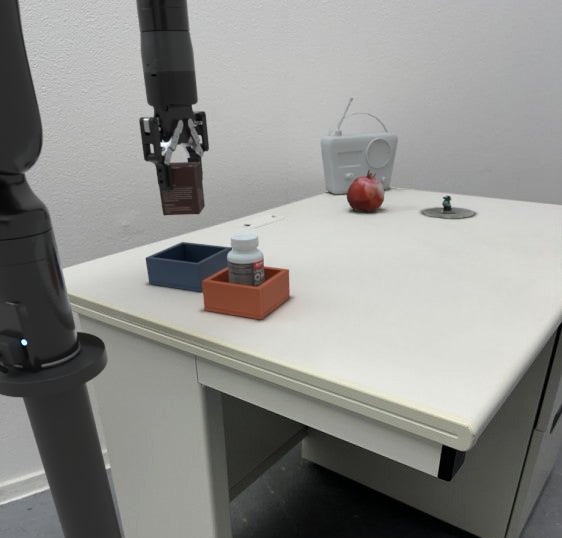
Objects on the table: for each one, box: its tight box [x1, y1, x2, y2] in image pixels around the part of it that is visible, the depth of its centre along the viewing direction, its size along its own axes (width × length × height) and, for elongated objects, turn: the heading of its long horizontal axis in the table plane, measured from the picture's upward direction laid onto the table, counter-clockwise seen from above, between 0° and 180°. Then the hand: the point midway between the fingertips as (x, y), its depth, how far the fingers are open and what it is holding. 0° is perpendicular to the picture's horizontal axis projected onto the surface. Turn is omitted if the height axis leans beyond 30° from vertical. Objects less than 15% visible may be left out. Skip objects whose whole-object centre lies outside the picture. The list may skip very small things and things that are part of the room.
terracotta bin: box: [202, 265, 291, 320], centre depth 82 cm, size 10×10×5 cm
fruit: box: [346, 170, 385, 213], centre depth 136 cm, size 9×10×10 cm
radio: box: [320, 96, 399, 195], centre depth 155 cm, size 22×8×25 cm, turn 109°
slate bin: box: [144, 241, 233, 293], centre depth 94 cm, size 11×11×5 cm
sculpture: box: [422, 195, 475, 219], centre depth 133 cm, size 12×9×8 cm
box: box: [158, 161, 206, 216], centre depth 88 cm, size 6×6×7 cm
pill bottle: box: [227, 232, 265, 287], centre depth 81 cm, size 5×5×10 cm
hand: (182, 185), depth 87 cm, fingers closed on box, 7 cm apart
